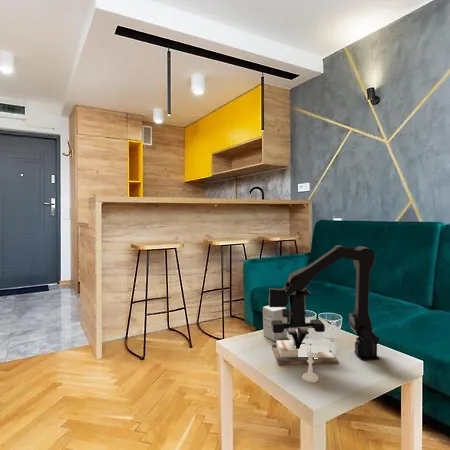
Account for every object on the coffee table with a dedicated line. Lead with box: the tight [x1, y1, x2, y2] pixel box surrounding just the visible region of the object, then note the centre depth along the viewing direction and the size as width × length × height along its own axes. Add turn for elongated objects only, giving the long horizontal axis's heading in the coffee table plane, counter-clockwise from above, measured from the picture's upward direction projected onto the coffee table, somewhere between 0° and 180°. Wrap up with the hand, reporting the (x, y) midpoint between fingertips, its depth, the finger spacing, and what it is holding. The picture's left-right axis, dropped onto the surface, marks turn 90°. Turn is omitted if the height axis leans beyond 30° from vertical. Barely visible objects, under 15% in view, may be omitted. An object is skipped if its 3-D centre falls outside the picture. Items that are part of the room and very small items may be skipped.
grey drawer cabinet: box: [262, 305, 288, 342], centre depth 139 cm, size 7×7×13 cm
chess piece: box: [302, 347, 319, 383], centre depth 105 cm, size 5×5×10 cm
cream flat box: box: [275, 339, 298, 357], centre depth 122 cm, size 6×10×2 cm, turn 1°
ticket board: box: [271, 342, 339, 366], centre depth 122 cm, size 21×14×2 cm, turn 91°
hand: (297, 348), depth 122 cm, fingers closed
